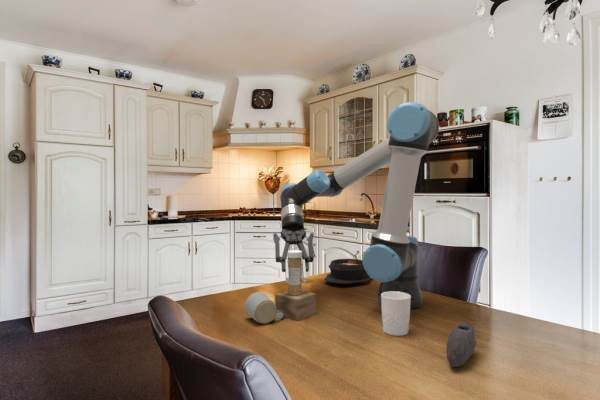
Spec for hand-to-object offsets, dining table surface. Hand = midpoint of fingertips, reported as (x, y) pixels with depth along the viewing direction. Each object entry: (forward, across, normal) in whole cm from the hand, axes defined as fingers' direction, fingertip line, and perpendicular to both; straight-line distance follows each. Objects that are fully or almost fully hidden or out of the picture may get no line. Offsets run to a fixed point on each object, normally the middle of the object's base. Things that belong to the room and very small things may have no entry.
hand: (296, 280), depth 116 cm
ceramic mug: (+9, +9, -8) cm, 15 cm away
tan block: (+5, 0, -11) cm, 12 cm away
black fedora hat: (-23, -26, -40) cm, 53 cm away
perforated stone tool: (+31, -35, +14) cm, 49 cm away
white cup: (+18, -26, +1) cm, 32 cm away
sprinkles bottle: (+1, 0, -6) cm, 7 cm away
